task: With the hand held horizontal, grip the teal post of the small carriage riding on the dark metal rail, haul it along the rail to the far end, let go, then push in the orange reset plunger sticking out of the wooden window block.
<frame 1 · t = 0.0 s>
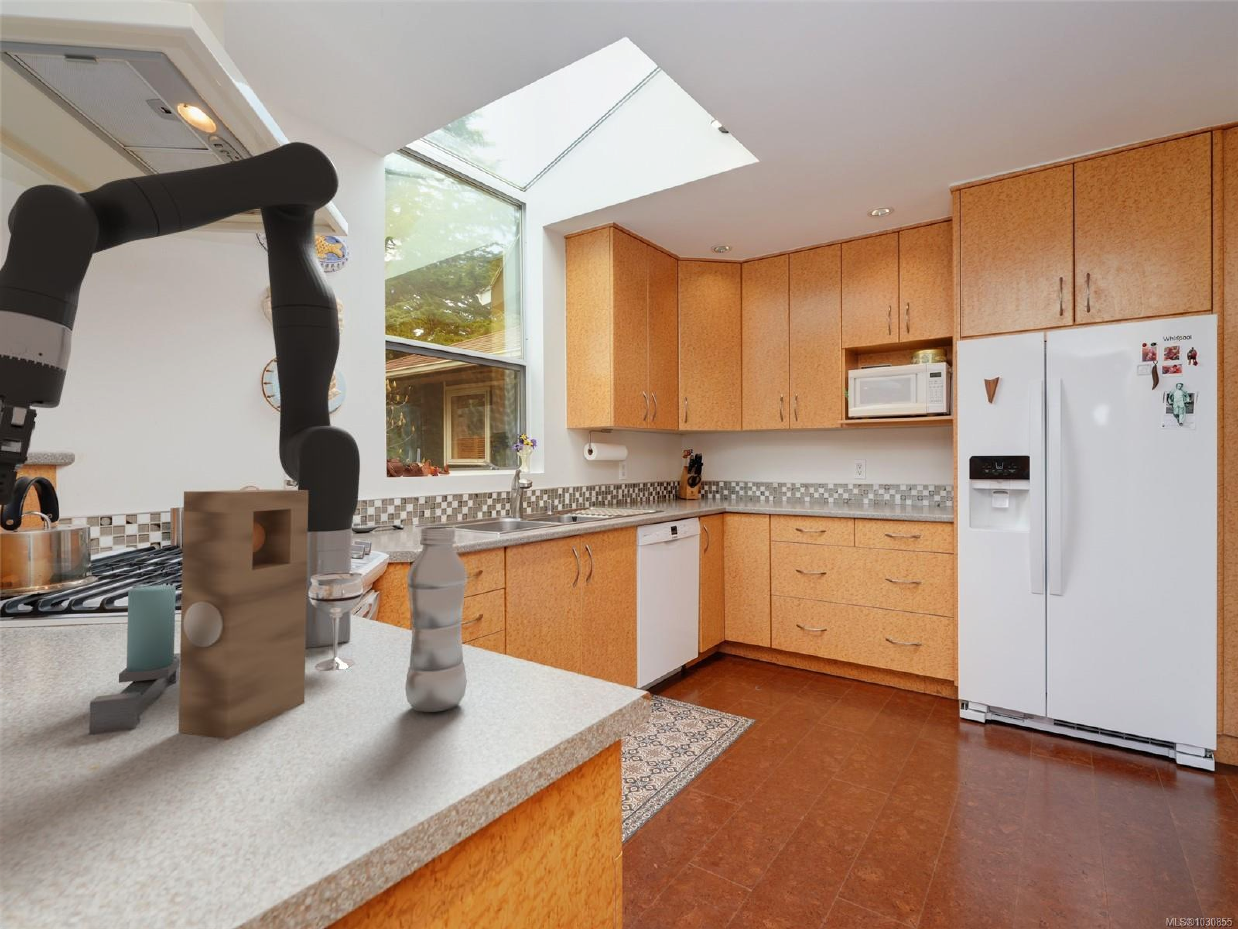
plunger: (226, 536, 65), point 19 cm above the countertop, slide at 0.0 cm
wineglass: (334, 665, 82), on the countertop
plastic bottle: (436, 709, 67), on the countertop
wooden window block: (245, 716, 64), on the countertop
rail: (139, 703, 68), on the countertop
carriage: (151, 631, 71), point 7 cm above the countertop, slide at 0.0 cm
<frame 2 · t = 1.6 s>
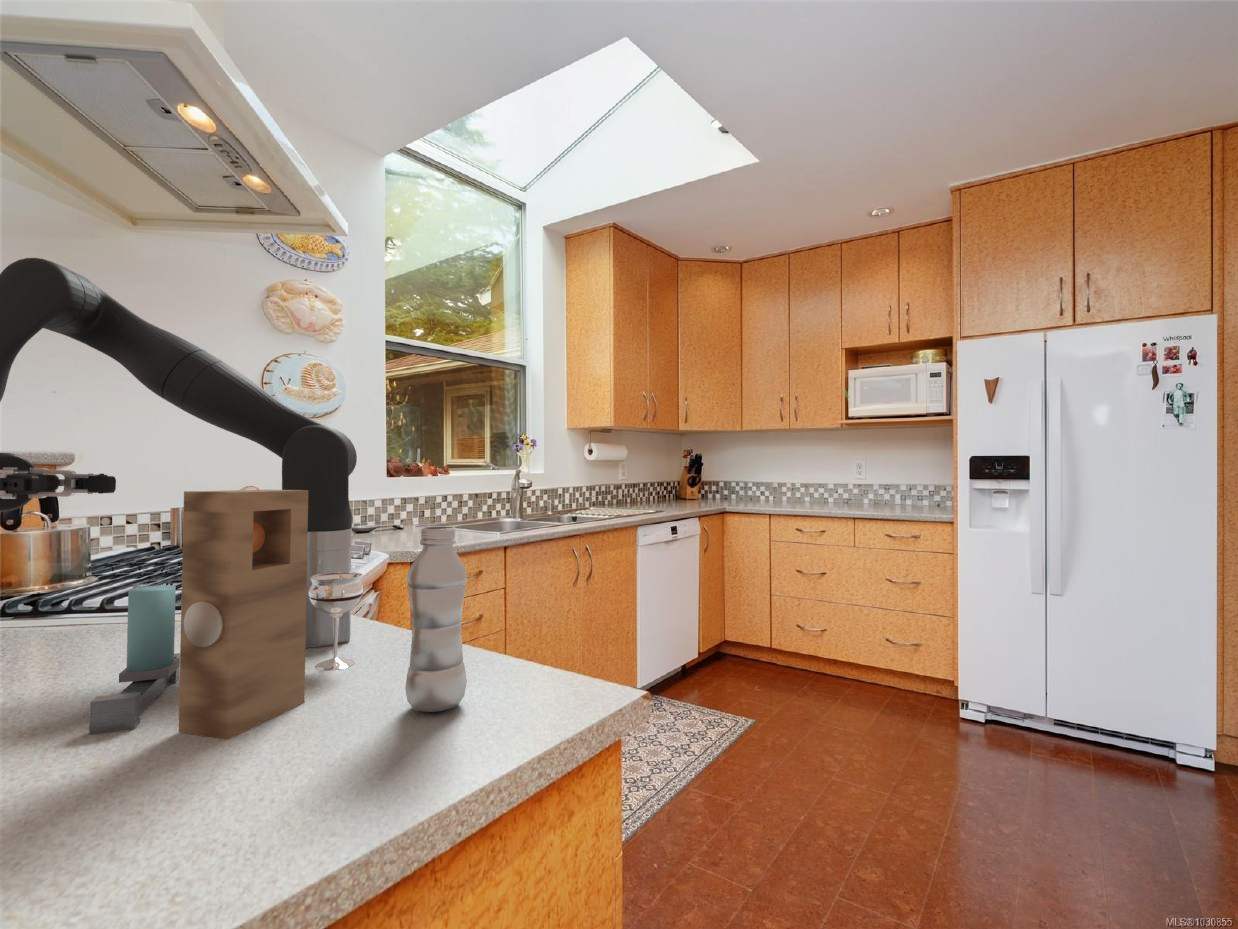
hand: (76, 484, 74), 24 cm above the countertop, tool horizontal, fingers open, 8 cm apart
nothing on the countertop moved.
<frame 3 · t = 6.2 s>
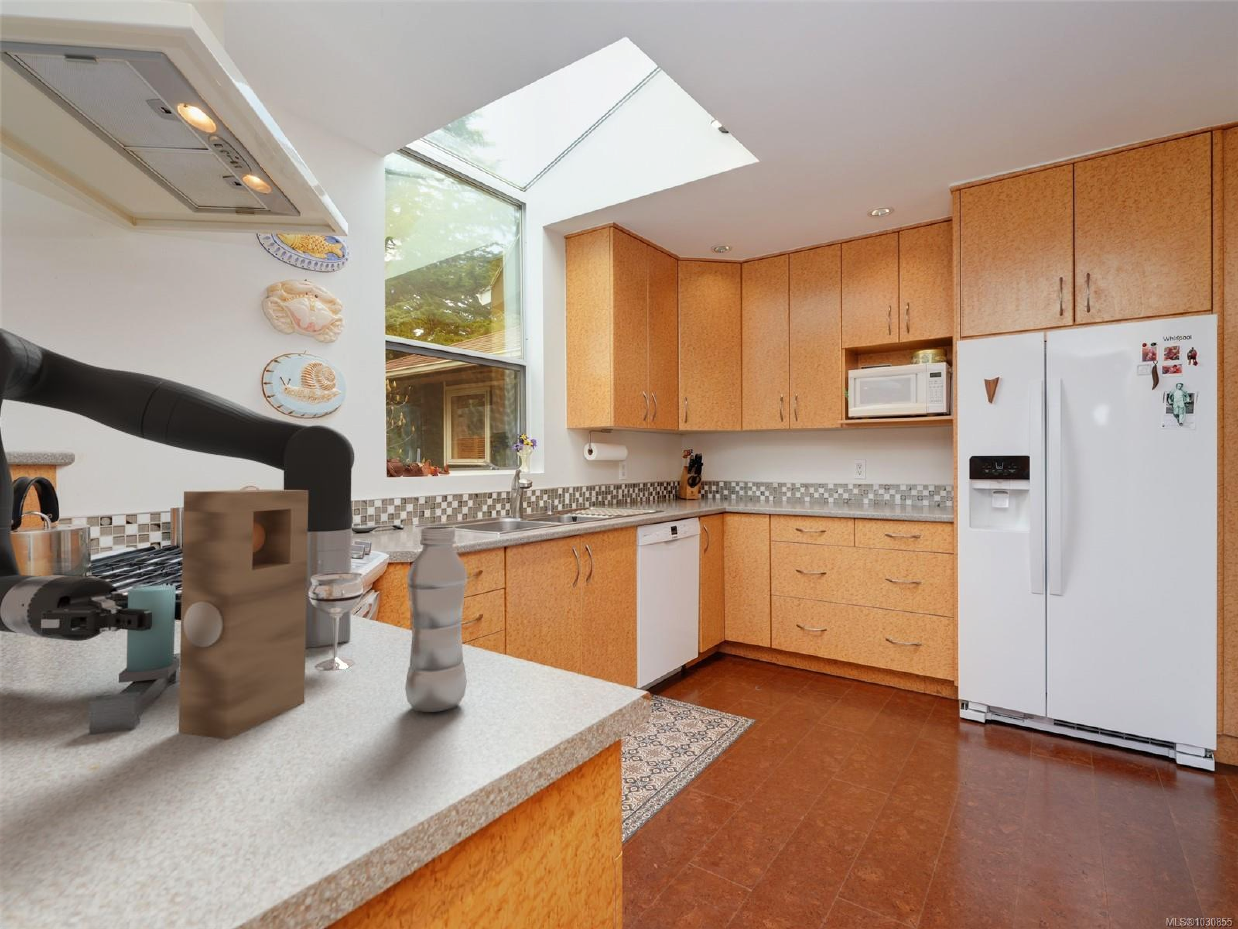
hand: (170, 615, 70), 9 cm above the countertop, tool horizontal, fingers closed on carriage, 4 cm apart
carriage: (151, 631, 71), point 7 cm above the countertop, slide at 0.0 cm, touching gripper
everything else where it was.
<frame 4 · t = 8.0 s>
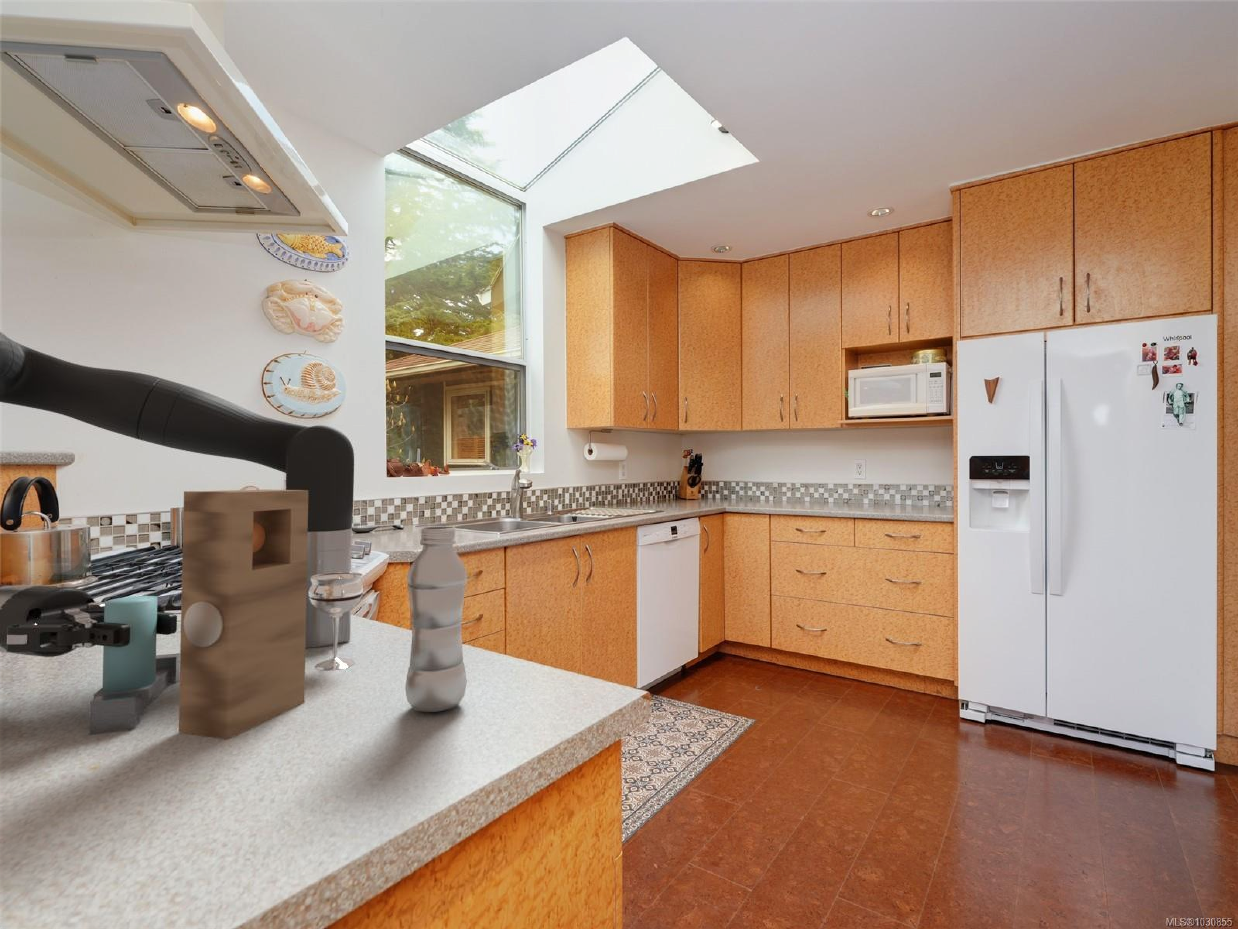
hand: (150, 629, 64), 9 cm above the countertop, tool horizontal, fingers closed on carriage, 4 cm apart
carriage: (130, 647, 65), point 7 cm above the countertop, slide at 7.0 cm, touching gripper
everything else where it was.
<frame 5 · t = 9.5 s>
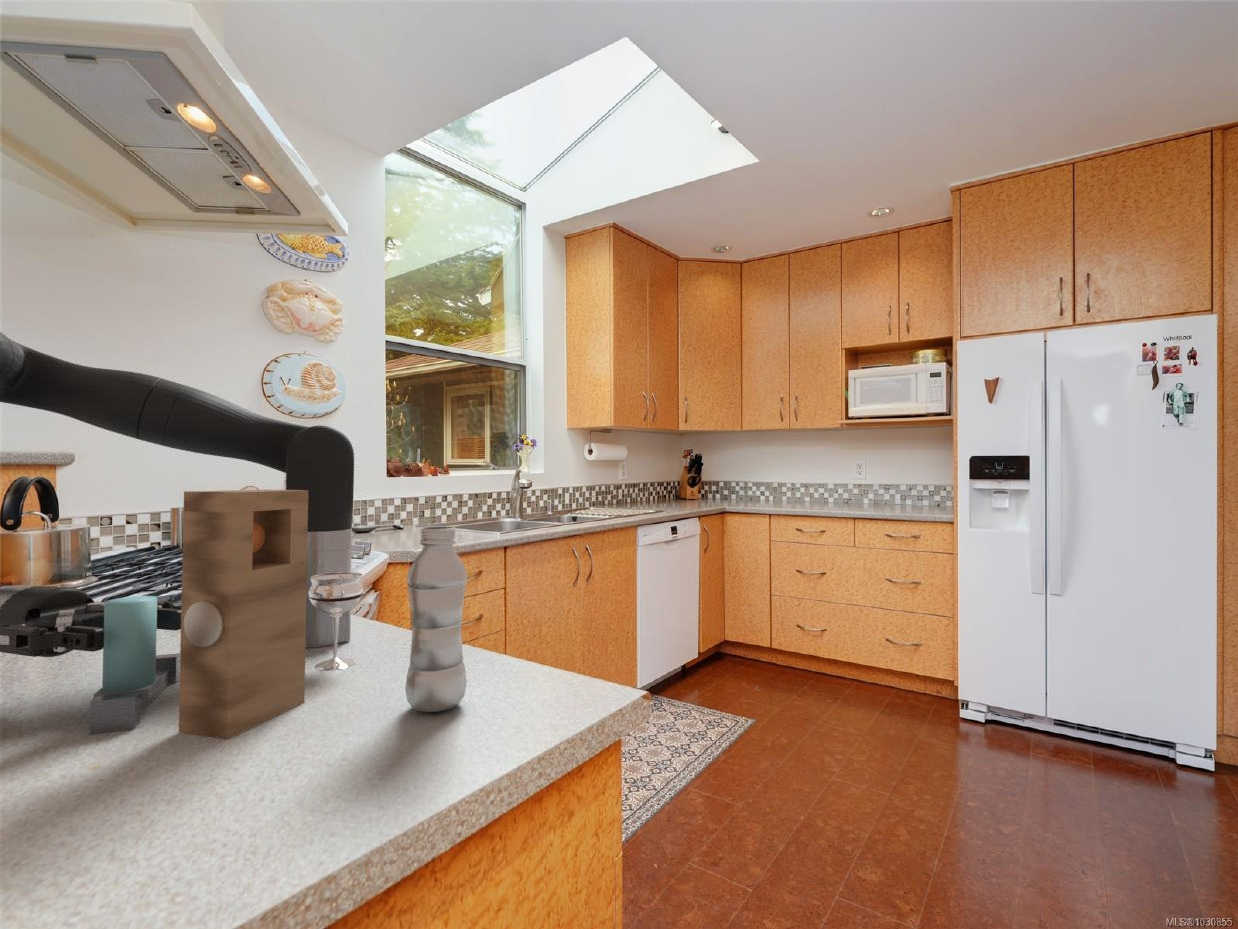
hand: (143, 629, 64), 9 cm above the countertop, tool horizontal, fingers open, 8 cm apart
carriage: (130, 647, 65), point 7 cm above the countertop, slide at 7.0 cm
everything else where it was.
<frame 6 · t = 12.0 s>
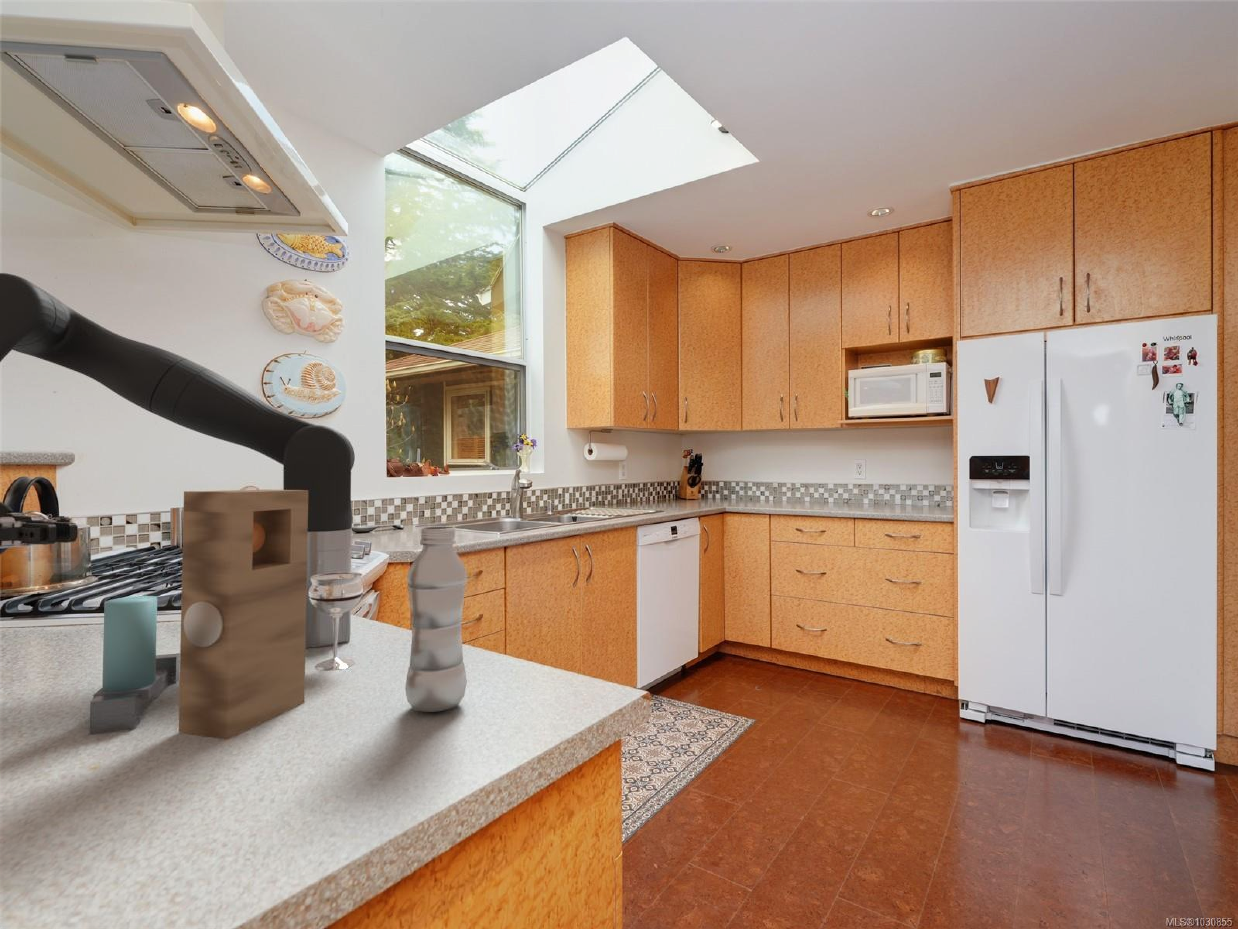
hand: (62, 533, 67), 19 cm above the countertop, tool horizontal, fingers closed
nothing on the countertop moved.
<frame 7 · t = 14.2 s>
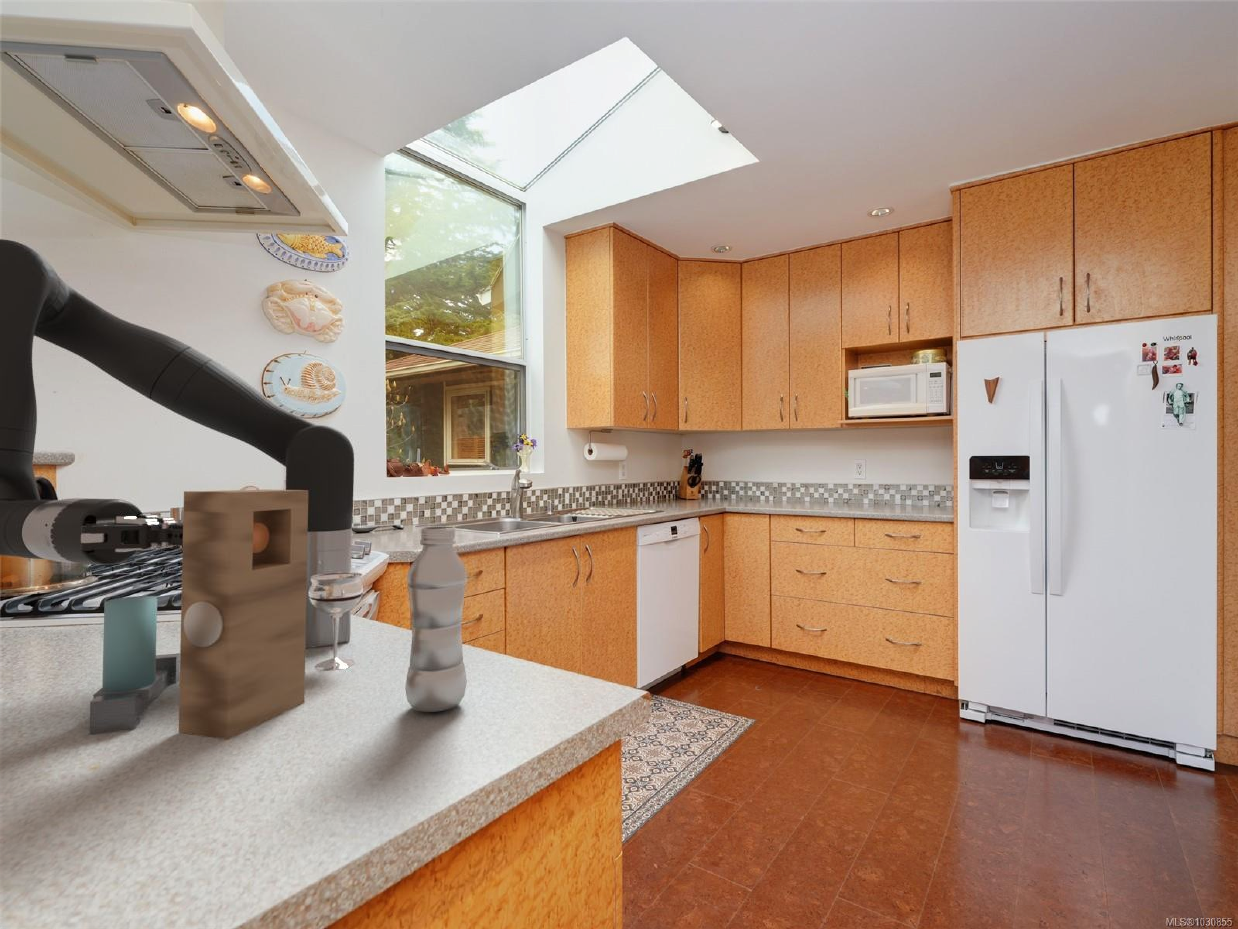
hand: (204, 535, 66), 19 cm above the countertop, tool horizontal, fingers closed
plunger: (230, 536, 65), point 19 cm above the countertop, slide at 0.6 cm, touching gripper
everything else where it was.
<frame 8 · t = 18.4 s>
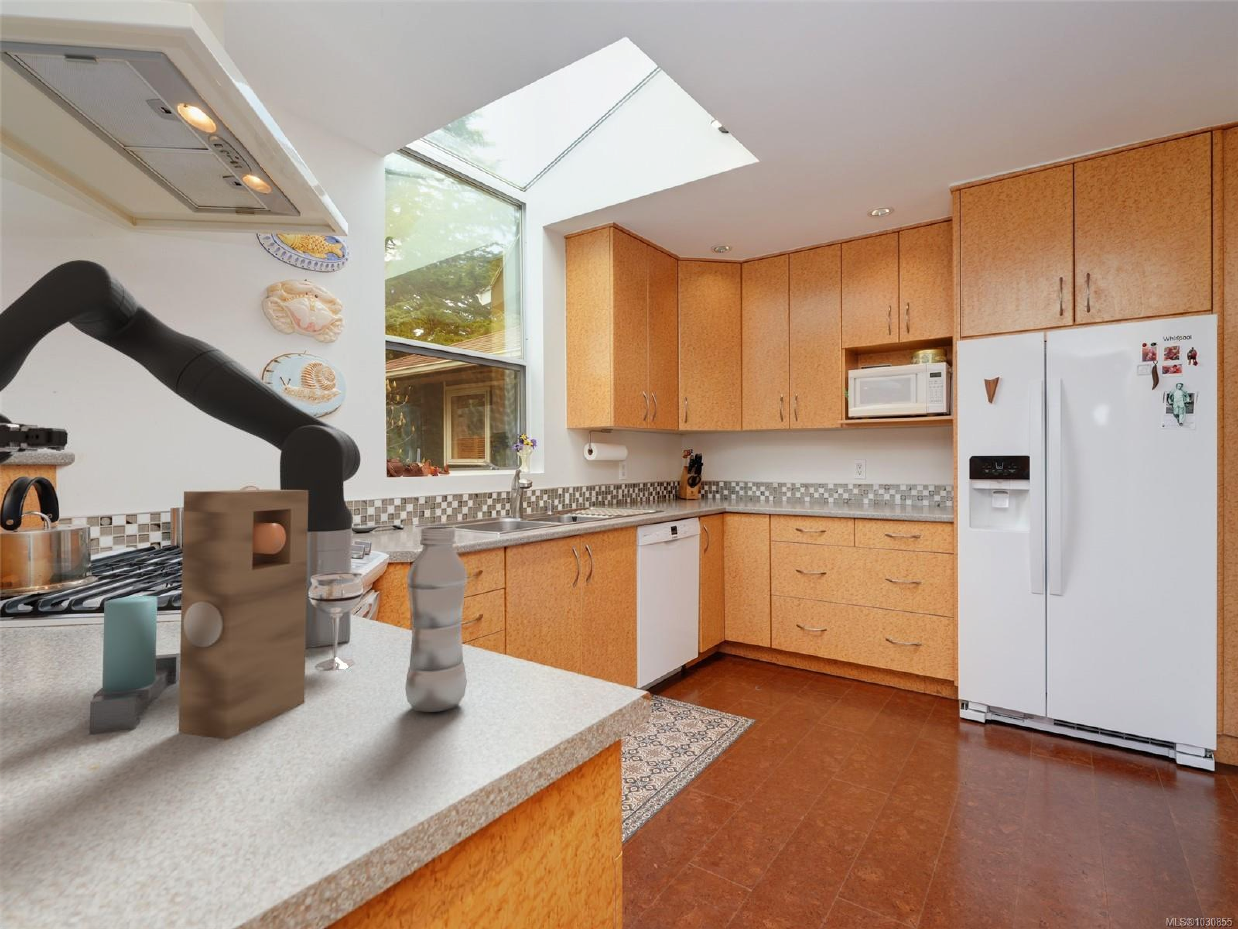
hand: (59, 437, 73), 30 cm above the countertop, tool horizontal, fingers closed
plunger: (246, 537, 65), point 19 cm above the countertop, slide at 2.7 cm
everything else where it was.
at the end: carriage slide at 7.0 cm; plunger slide at 2.7 cm; the gripper is holding nothing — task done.
